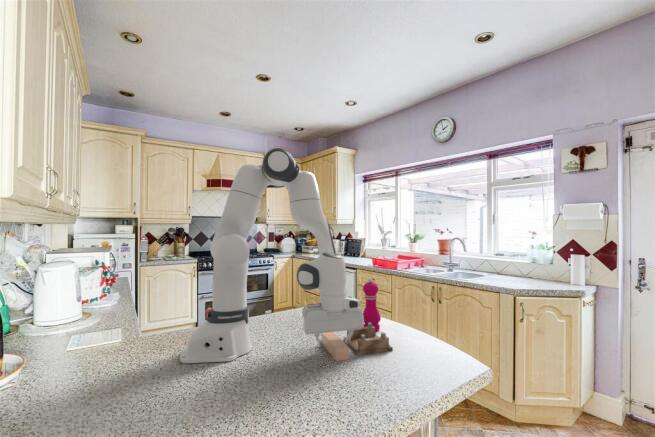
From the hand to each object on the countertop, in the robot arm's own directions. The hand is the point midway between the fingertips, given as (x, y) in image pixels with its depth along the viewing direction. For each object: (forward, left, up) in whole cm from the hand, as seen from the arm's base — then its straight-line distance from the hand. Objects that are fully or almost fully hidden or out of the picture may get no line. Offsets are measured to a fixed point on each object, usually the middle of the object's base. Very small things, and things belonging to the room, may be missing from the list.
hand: (334, 344), depth 104 cm
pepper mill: (+20, +16, -2) cm, 26 cm away
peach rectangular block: (0, 0, -2) cm, 2 cm away
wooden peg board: (+12, +1, -2) cm, 12 cm away
